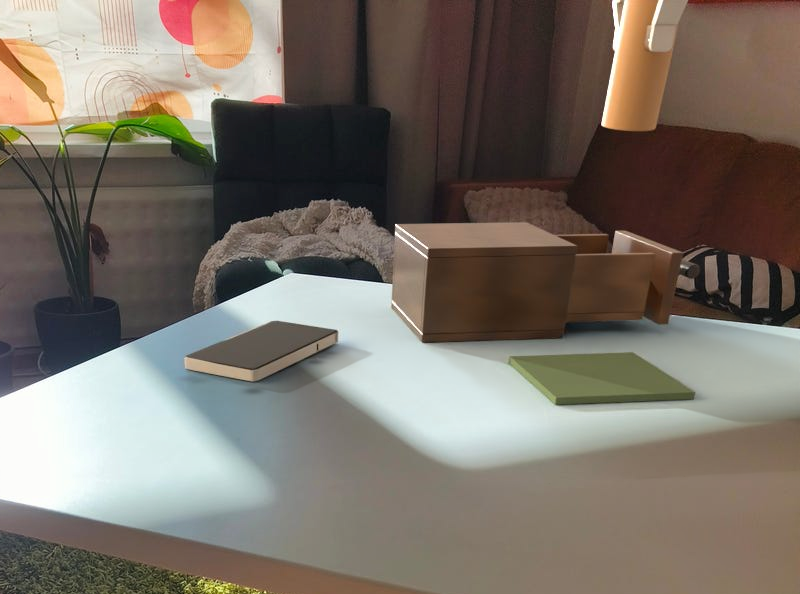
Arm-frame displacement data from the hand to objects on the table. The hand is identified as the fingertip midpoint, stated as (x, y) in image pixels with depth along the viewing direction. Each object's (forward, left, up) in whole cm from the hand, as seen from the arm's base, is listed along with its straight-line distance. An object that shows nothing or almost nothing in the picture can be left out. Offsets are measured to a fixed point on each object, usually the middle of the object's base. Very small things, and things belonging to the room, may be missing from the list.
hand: (640, 52), depth 74 cm
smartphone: (+32, 0, -24) cm, 40 cm away
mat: (+4, +11, -24) cm, 27 cm away
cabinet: (+9, -10, -24) cm, 27 cm away
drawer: (-5, -10, -23) cm, 26 cm away
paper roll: (0, -1, -5) cm, 5 cm away
